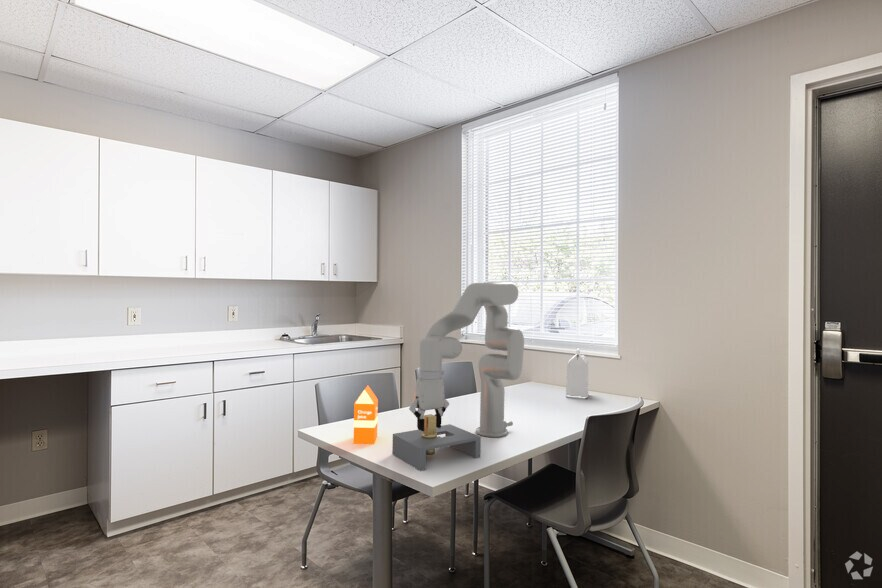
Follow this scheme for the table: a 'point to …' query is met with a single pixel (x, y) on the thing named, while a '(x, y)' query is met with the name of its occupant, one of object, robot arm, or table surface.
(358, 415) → the orange juice
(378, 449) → the table surface
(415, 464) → the keyhole board
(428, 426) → the brass peg
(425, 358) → the robot arm
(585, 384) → the milk
